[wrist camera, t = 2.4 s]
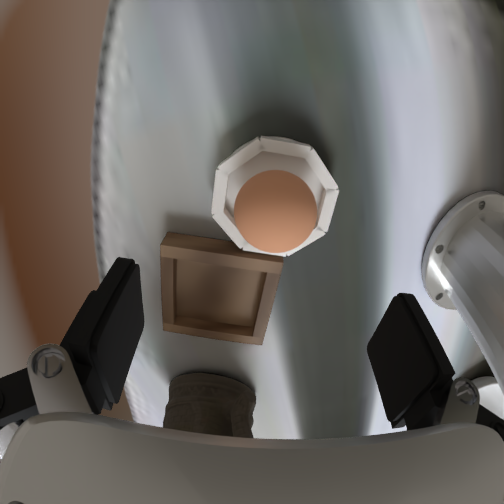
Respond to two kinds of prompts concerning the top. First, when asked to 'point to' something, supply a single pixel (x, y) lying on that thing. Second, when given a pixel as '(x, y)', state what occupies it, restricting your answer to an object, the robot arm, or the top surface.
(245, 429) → the beer stein
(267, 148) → the octagonal white dish
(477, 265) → the robot arm
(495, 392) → the spoon rest
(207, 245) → the tray
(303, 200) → the ball
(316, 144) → the top surface
